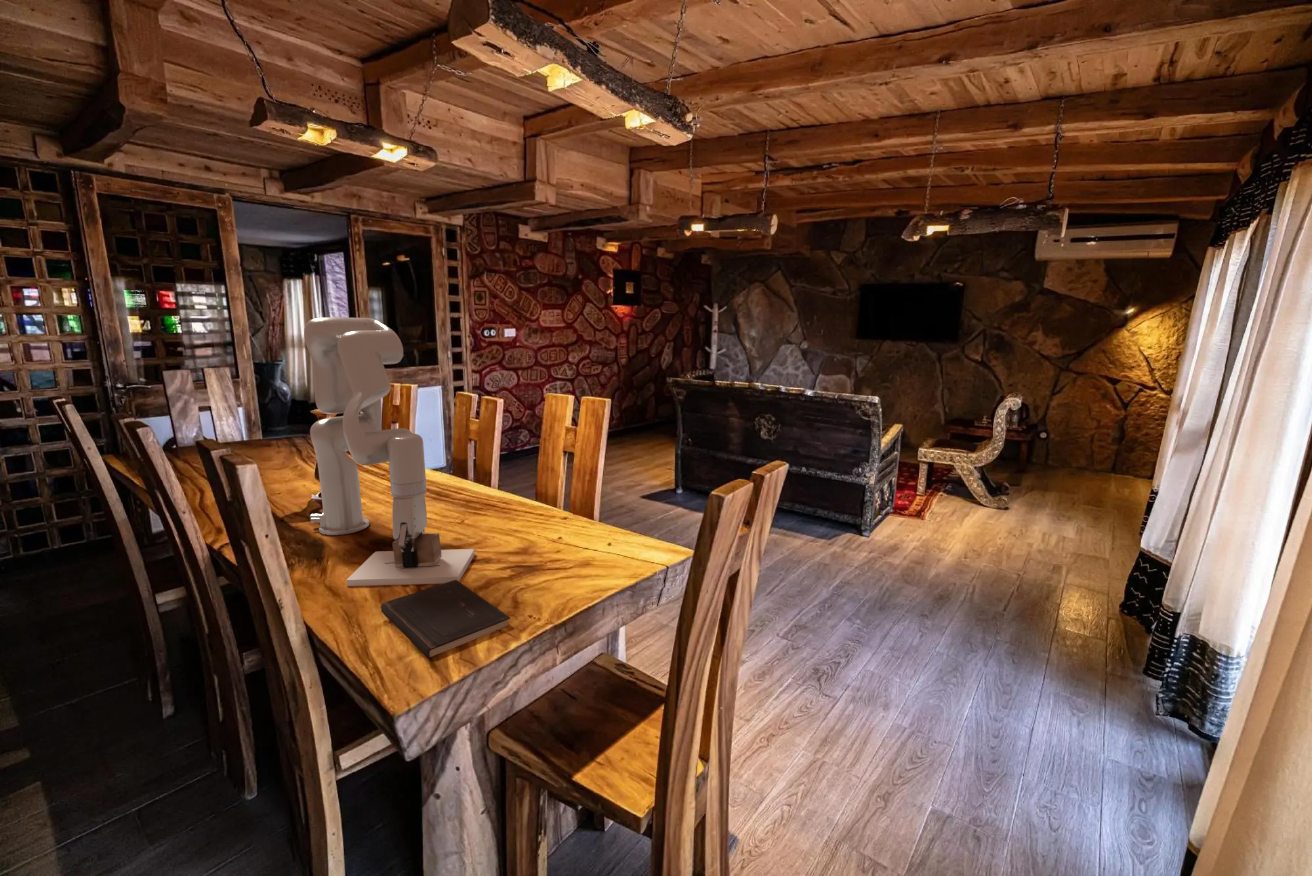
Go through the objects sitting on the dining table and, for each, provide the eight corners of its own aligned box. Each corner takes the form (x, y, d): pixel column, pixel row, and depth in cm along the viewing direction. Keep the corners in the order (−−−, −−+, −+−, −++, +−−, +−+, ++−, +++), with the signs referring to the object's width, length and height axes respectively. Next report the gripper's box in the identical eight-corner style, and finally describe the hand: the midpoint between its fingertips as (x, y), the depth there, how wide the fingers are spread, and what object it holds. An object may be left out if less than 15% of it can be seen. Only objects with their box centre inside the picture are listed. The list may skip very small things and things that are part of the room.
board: (347, 586, 126) (346, 579, 126) (375, 557, 142) (375, 551, 141) (458, 582, 128) (457, 576, 128) (474, 554, 144) (474, 548, 143)
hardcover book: (456, 589, 126) (456, 579, 126) (510, 628, 110) (510, 617, 110) (381, 614, 115) (380, 603, 115) (428, 661, 99) (427, 649, 99)
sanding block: (395, 567, 132) (392, 543, 131) (403, 558, 137) (400, 535, 136) (435, 565, 132) (432, 541, 131) (441, 556, 137) (439, 533, 136)
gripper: (404, 477, 139) (410, 548, 143) (377, 499, 122) (384, 578, 126) (436, 477, 140) (441, 547, 143) (413, 498, 123) (419, 577, 126)
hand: (414, 560), depth 134 cm, fingers closed on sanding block, 5 cm apart
